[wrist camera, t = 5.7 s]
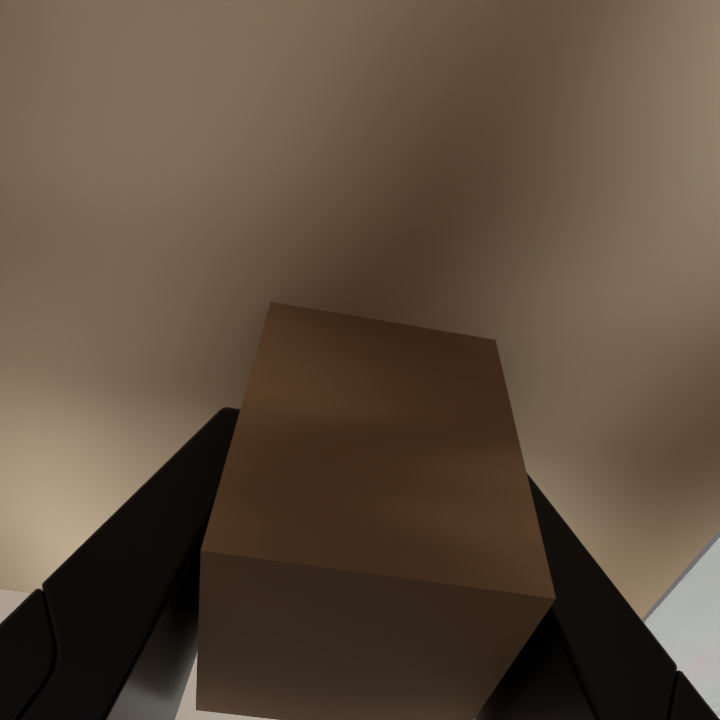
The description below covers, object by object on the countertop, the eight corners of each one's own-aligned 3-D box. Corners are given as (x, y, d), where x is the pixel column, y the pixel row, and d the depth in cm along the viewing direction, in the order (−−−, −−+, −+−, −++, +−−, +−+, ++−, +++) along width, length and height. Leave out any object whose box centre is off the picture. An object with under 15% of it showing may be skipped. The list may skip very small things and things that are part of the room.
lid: (1086, -13, 7) (2064, 132, 3) (589, 624, 15) (661, 889, 11) (-223, -317, 6) (-1590, -763, 2) (16, 548, 14) (-130, 810, 10)
